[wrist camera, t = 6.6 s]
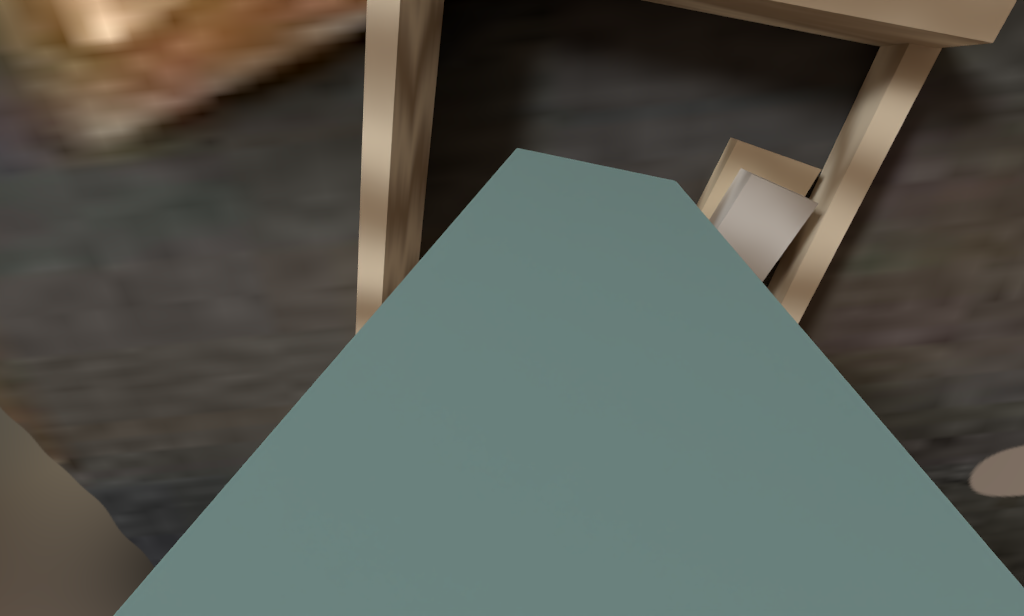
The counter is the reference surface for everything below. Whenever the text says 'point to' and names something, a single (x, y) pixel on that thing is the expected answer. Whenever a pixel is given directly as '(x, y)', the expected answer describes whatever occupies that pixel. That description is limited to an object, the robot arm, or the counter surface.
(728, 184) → the offcut lower
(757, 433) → the teal rectangular block
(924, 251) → the counter surface
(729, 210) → the offcut upper
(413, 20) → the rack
